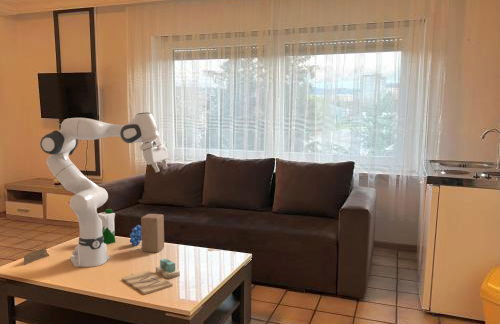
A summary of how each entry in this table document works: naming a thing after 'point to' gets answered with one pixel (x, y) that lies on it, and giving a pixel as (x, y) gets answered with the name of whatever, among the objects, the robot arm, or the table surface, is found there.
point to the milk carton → (108, 226)
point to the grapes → (136, 235)
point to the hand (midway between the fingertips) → (161, 170)
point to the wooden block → (152, 232)
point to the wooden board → (146, 282)
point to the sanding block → (167, 269)
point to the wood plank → (35, 256)
